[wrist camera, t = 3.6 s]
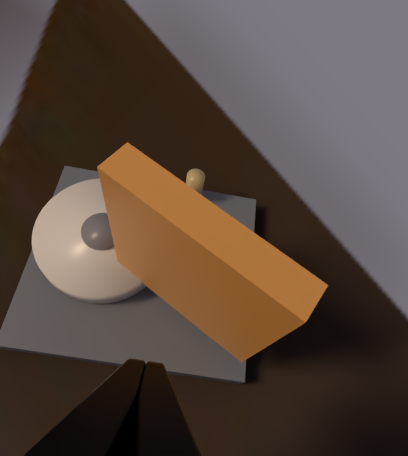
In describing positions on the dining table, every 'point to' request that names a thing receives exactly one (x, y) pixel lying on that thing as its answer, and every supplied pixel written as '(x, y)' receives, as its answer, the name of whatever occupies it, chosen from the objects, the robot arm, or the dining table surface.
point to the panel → (119, 314)
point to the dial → (171, 255)
